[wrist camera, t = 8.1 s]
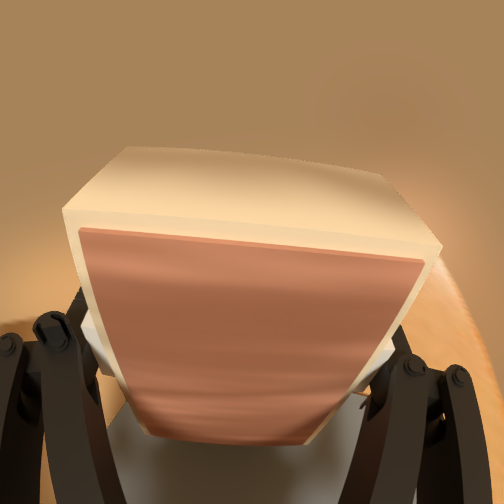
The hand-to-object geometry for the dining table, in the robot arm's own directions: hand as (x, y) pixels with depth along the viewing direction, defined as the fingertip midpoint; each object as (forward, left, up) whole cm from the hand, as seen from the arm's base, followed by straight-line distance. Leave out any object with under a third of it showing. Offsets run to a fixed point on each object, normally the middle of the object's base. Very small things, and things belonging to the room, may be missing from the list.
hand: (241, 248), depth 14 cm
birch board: (+2, -4, -7) cm, 8 cm away
